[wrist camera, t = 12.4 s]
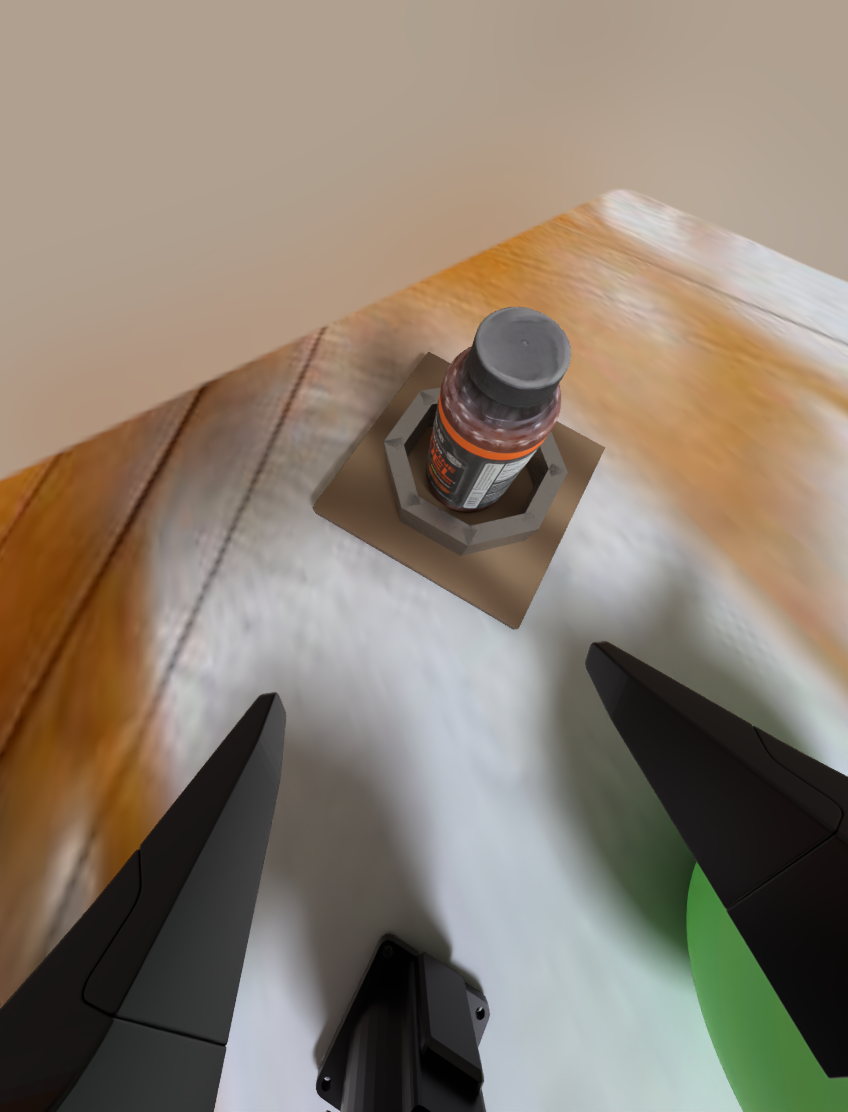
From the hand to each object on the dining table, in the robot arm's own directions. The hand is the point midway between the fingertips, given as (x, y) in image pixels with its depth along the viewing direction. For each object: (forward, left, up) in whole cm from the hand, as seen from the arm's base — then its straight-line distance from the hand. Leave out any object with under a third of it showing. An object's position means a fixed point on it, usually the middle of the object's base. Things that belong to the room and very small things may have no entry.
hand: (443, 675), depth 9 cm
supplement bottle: (+13, +3, -12) cm, 18 cm away
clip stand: (+13, +3, -13) cm, 18 cm away
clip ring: (+13, +3, -13) cm, 18 cm away
